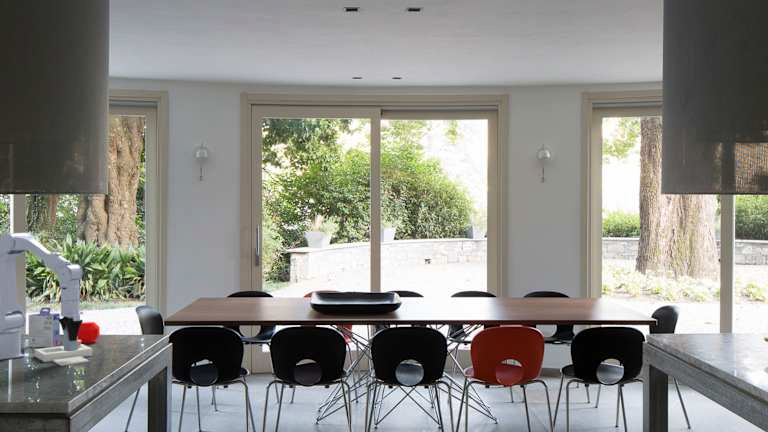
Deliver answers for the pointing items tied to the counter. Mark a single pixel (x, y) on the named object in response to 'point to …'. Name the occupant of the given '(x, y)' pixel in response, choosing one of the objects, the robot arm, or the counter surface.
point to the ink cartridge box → (44, 329)
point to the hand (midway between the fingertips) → (70, 339)
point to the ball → (88, 332)
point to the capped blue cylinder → (69, 342)
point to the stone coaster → (70, 360)
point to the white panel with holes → (61, 353)
